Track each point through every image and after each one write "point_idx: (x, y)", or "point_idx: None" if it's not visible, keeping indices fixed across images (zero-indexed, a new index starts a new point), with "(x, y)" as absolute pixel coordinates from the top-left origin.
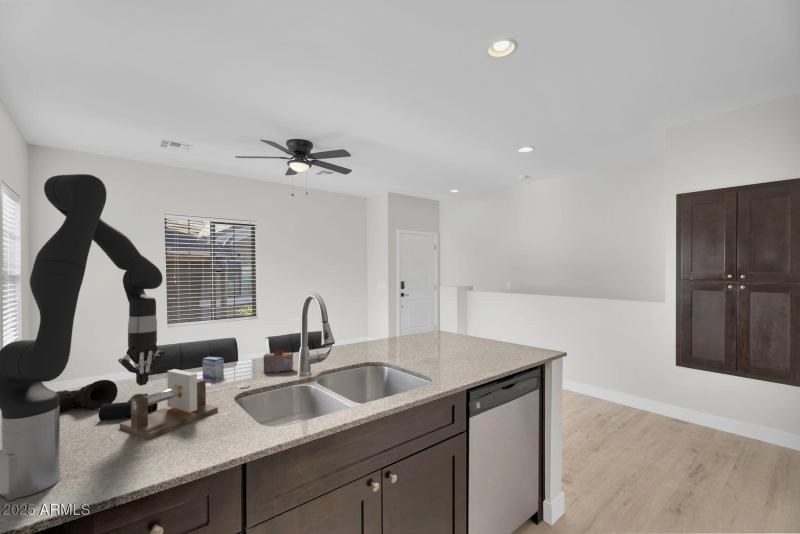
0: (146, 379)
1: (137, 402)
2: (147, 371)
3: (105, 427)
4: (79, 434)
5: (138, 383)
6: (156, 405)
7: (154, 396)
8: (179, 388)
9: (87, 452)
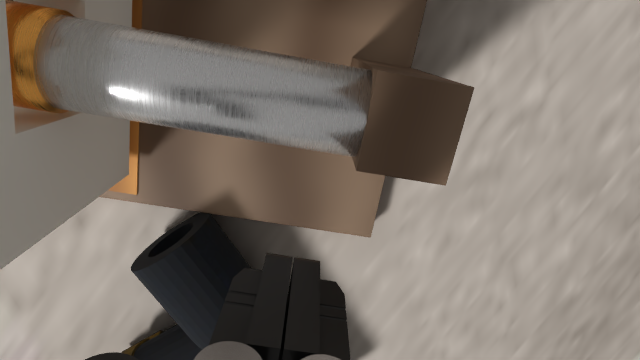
0: (263, 279)
1: (463, 84)
2: (232, 353)
3: (377, 292)
4: (458, 322)
5: (337, 296)
6: (147, 253)
7: (300, 74)
8: (38, 25)
9: (605, 115)
